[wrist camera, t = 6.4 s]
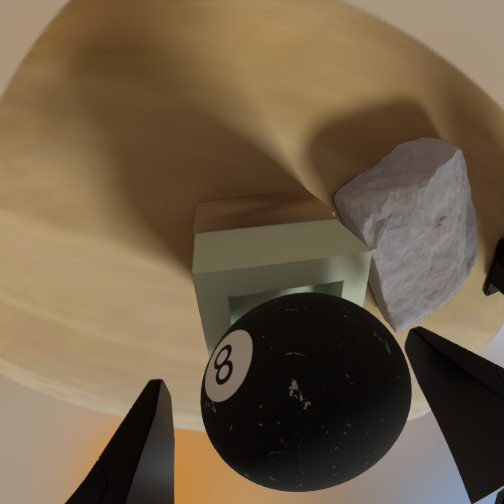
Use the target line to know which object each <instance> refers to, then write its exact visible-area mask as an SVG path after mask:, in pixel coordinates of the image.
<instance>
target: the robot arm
mask: <svg viewBox="0 0 504 504" xmlns="http://www.w3.org/2000/svg"><path fill="white" fill-rule="evenodd" d="M498 291H499V292H501V293H502V294H503V295H504V238H503V239H501V240H500V242H499V245H498V249H497V252H496V256H495V260H494V263H493V267H492V270H491V273H490V276H489V279H488V282H487V285H486V288H485V291H484V294H485V295H486V296H489V295H491V294H493V293H496V292H498ZM405 352H406V354H407V357H408V359H409V361H410V364H411V366H412V369H413V371H414V374H415V377H416V379H417V381H418V384H419V386H420V388H421V390H422V392H423V394H424V396H425V398H426V400H427V402H428V404H429V406H430V408H431V410H432V412H433V414H434V416H435V418H436V420H437V422H438V424H439V427H440V429H441V431H442V433H443V435H444V437H445V440H446V442H447V444H448V446H449V449H450V451H451V453H452V455H453V458H454V460H455V463H456V465H457V468H458V470H459V473H460V476H461V478H462V481H463V483H464V486H465V488H466V491H467V494H468V497H469V499H470V502H471V504H473V503H475V502H477V501H479V500H480V499H482V498H484V497H486V496H488V495H489V494H491V493H493V492H494V491H496V490H497V489H499V488H501V487H502V486H504V368H502V367H500V366H498V365H497V364H494V363H492V362H491V361H489V360H486V359H485V358H483V357H481V356H479V355H477V354H475V353H473V352H471V351H469V350H467V349H465V348H463V347H461V346H459V345H457V344H455V343H453V342H451V341H449V340H447V339H445V338H443V337H441V336H439V335H437V334H435V333H433V332H431V331H429V330H427V329H425V328H423V327H421V326H417V327H415V328H412V329H410V331H409V333H408V336H407V339H406V342H405ZM174 440H175V439H174V427H173V416H172V402H171V395H170V393H169V391H168V389H167V387H166V385H165V383H164V381H163V380H162V379H152V380H150V381H149V382H148V383H147V385H146V386H145V388H144V389H143V391H142V392H141V394H140V395H139V397H138V398H137V400H136V401H135V403H134V404H133V406H132V408H131V409H130V411H129V412H128V414H127V415H126V417H125V418H124V420H123V421H122V423H121V424H120V426H119V428H118V429H117V431H116V432H115V434H114V435H113V437H112V438H111V440H110V441H109V443H108V444H107V446H106V448H105V449H104V451H103V452H102V454H101V455H100V457H99V460H97V461H96V463H95V465H94V466H93V468H92V469H91V471H90V472H89V474H88V475H87V476H86V478H85V479H84V481H83V482H82V483H81V484H80V486H79V487H78V488H77V490H76V491H75V492H74V493H73V495H72V496H71V497H70V498H69V499H68V500H67V502H66V503H65V504H174V447H175V444H174V443H175V441H174ZM495 504H504V488H503V489H502V490H501V491H499V492H498V494H497V497H496V501H495Z"/></svg>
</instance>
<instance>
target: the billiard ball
mask: <svg viewBox="0 0 504 504" xmlns="http://www.w3.org/2000/svg"><path fill="white" fill-rule="evenodd" d="M411 397H412V387H411V377H410V372H409V368H408V365H407V362H406V359H405V356H404V354H403V352H402V350H401V348H400V346H399V344H398V343H397V341H396V340H395V338H394V336H393V335H392V334H391V333H390V331H389V330H388V329H387V328H386V327H385V326H384V325H383V324H382V323H381V322H380V321H379V320H378V319H377V318H376V317H375V316H374V315H372V314H371V313H370V312H368V311H367V310H365V309H364V308H362V307H361V306H359V305H357V304H355V303H353V302H351V301H349V300H346V299H344V298H341V297H338V296H334V295H330V294H325V293H316V292H302V293H293V294H288V295H283V296H280V297H277V298H274V299H271V300H269V301H266V302H264V303H262V304H260V305H258V306H256V307H255V308H253V309H252V310H250V311H248V312H247V313H246V314H244V315H243V316H242V317H241V318H239V319H238V320H237V321H236V322H235V323H234V324H233V325H232V326H231V327H230V328H229V329H228V330H227V332H226V333H225V334H224V335H223V336H222V338H221V339H220V341H219V342H218V344H217V345H216V347H215V349H214V351H213V353H212V354H211V357H210V359H209V362H208V364H207V366H206V369H205V373H204V377H203V381H202V387H201V402H200V403H201V412H202V418H203V423H204V426H205V429H206V432H207V434H208V437H209V439H210V441H211V443H212V444H213V446H214V448H215V449H216V451H217V452H218V454H219V455H220V456H221V458H222V459H223V460H224V461H225V462H226V463H227V464H228V465H229V466H230V467H231V468H232V469H233V470H235V471H236V472H237V473H238V474H240V475H242V476H243V477H245V478H246V479H248V480H250V481H252V482H254V483H256V484H259V485H262V486H264V487H267V488H270V489H275V490H280V491H289V492H306V491H316V490H321V489H325V488H330V487H333V486H336V485H339V484H342V483H344V482H346V481H349V480H351V479H353V478H355V477H357V476H359V475H360V474H362V473H363V472H365V471H366V470H368V469H369V468H371V467H372V466H373V465H374V464H376V463H377V462H378V461H379V460H380V459H381V458H382V457H383V456H384V455H385V454H386V453H387V452H388V451H389V450H390V448H391V447H392V446H393V444H394V443H395V442H396V440H397V438H398V437H399V435H400V434H401V432H402V430H403V428H404V426H405V423H406V421H407V418H408V414H409V410H410V406H411Z"/></svg>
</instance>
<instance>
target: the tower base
mask: <svg viewBox="0 0 504 504" xmlns="http://www.w3.org/2000/svg"><path fill="white" fill-rule="evenodd" d="M332 219H335V212H334V211H333V210H332V209H330V208H329V207H328V206H327V205H325V204H324V203H323V202H322V201H320V200H319V199H318V198H317V197H315V196H314V195H313V194H312V193H310V192H309V191H308V190H298V191H288V192H278V193H269V194H260V195H252V196H244V197H236V198H228V199H221V200H213V201H206V202H199V203H196V210H195V218H194V226H193V233H194V239H195V234H197V233H206V232H214V231H223V230H232V229H241V228H250V227H260V226H269V225H279V224H289V223H299V222H310V221H321V220H332Z"/></svg>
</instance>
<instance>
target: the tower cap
mask: <svg viewBox="0 0 504 504" xmlns="http://www.w3.org/2000/svg"><path fill="white" fill-rule="evenodd" d="M371 255H372V251H371V250H370V249H369V248H368V247H367V246H366V245H365V244H364V243H363V242H361V241H360V240H359V239H358V238H357V237H356V236H355V235H354V234H353V233H351V232H350V231H349V230H348V229H347V228H346V227H345V226H344V225H342V224H341V223H340V222H339V221H338V220H337V219H332V220H321V221H310V222H299V223H289V224H279V225H269V226H260V227H250V228H241V229H232V230H223V231H214V232H206V233H197V234H195V242H194V254H193V268H192V276H193V282H194V287H195V292H196V297H197V302H198V307H199V312H200V317H201V322H202V327H203V331H204V336H205V340H206V345H207V349H208V354H209V358H210V357H211V354H212V353H213V351H214V349H215V347H216V345H217V344H218V342H219V341H220V339H221V338H222V336H223V335H224V334H225V333H226V332H227V330H228V329H229V328H230V327H231V326H232V325H233V324H234V323H235V322H236V321H237V320H238V319H239V318H241V317H242V316H243V315H244V314H246V313H247V312H248V311H250V310H252V309H253V308H255V307H256V306H258V305H260V304H262V303H264V302H266V301H269V300H271V299H274V298H277V297H280V296H283V295H288V294H293V293H302V292H316V293H325V294H330V295H334V296H338V297H341V298H344V299H346V300H349V301H351V302H353V303H355V304H357V305H359V306H361V307H362V308H363V303H364V298H365V293H366V287H367V281H368V275H369V269H370V262H371Z"/></svg>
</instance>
